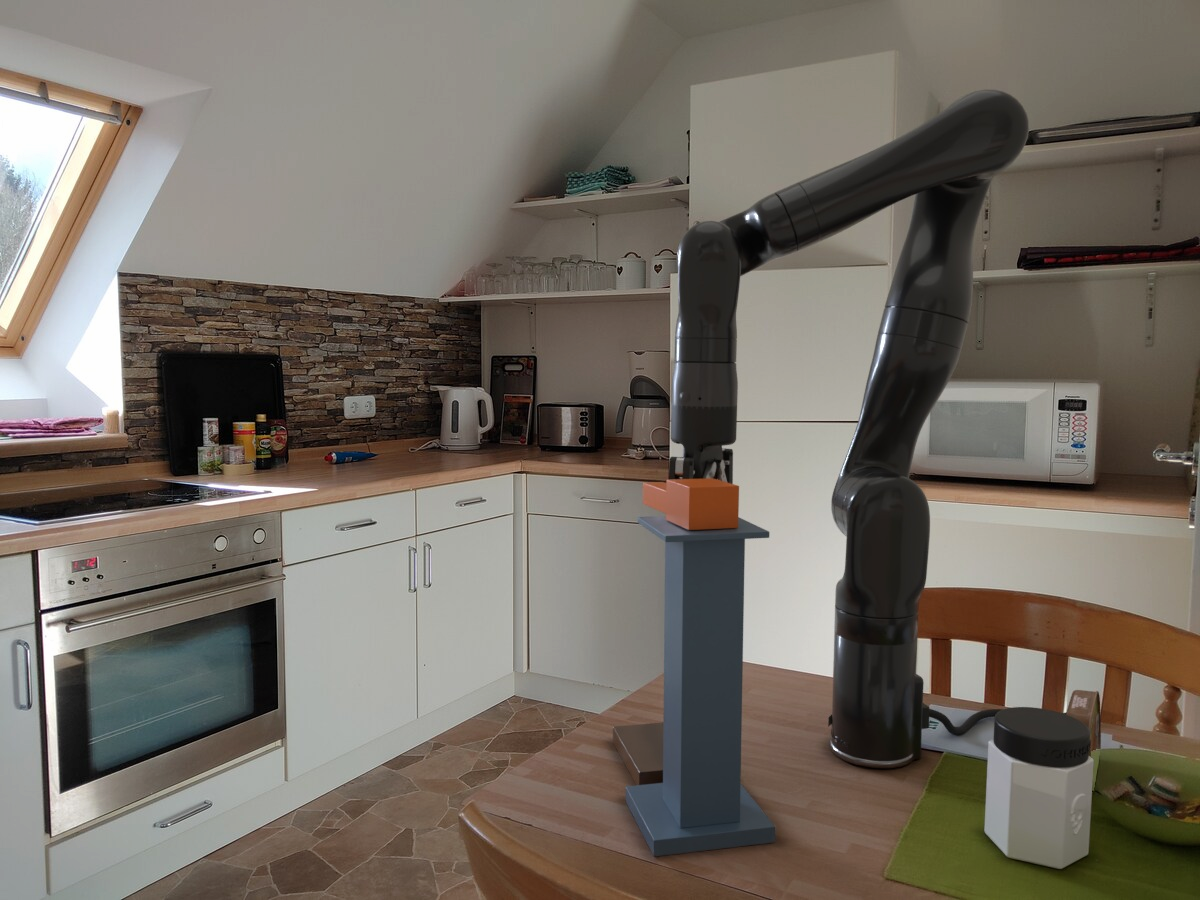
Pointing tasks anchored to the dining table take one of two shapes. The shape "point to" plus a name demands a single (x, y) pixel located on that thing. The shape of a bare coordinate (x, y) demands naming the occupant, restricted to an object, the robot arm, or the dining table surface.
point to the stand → (701, 698)
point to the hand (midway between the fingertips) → (700, 541)
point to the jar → (1039, 786)
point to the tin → (1087, 714)
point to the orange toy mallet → (695, 502)
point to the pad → (641, 751)
